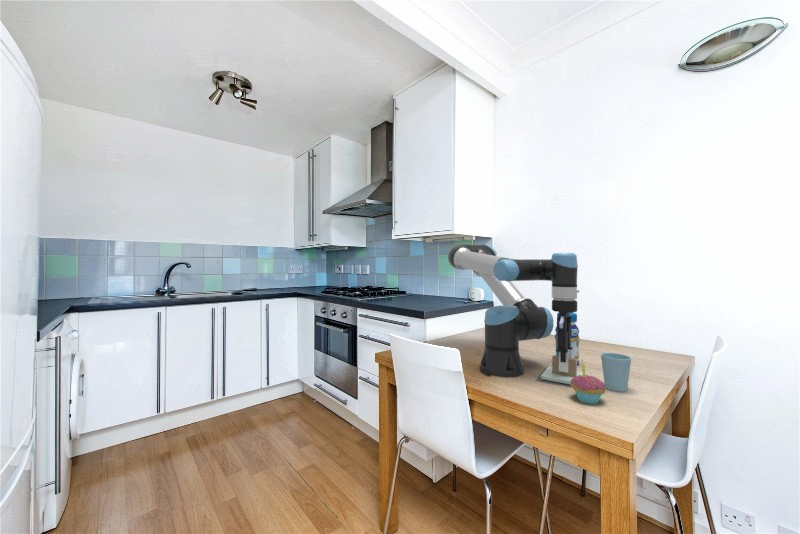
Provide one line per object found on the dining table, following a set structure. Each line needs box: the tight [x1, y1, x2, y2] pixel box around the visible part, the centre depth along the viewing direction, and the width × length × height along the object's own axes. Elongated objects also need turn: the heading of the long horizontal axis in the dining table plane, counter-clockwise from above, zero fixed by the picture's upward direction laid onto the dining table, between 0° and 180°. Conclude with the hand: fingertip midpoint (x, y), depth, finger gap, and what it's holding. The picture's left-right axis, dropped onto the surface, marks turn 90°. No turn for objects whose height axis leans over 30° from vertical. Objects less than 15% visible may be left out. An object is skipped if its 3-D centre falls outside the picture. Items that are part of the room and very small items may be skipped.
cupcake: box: [571, 359, 607, 405], centre depth 89 cm, size 9×8×12 cm
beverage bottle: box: [554, 312, 581, 368], centre depth 122 cm, size 8×8×20 cm
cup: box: [600, 352, 632, 393], centre depth 97 cm, size 8×8×10 cm
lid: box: [540, 354, 588, 385], centre depth 106 cm, size 12×12×6 cm
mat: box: [535, 368, 572, 389], centre depth 105 cm, size 15×15×1 cm
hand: (564, 370), depth 106 cm, fingers closed on lid, 2 cm apart
